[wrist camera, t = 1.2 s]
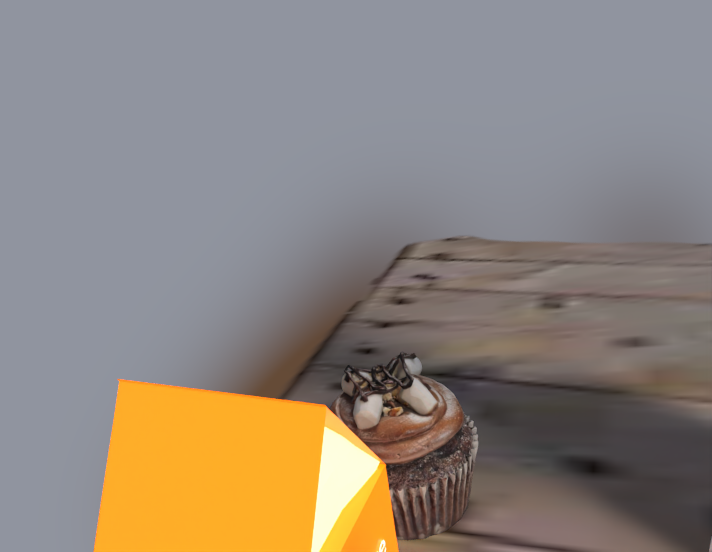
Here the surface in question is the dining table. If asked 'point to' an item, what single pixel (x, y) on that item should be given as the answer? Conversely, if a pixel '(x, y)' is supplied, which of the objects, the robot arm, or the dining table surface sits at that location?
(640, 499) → the dining table surface
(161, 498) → the orange juice
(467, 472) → the cupcake
